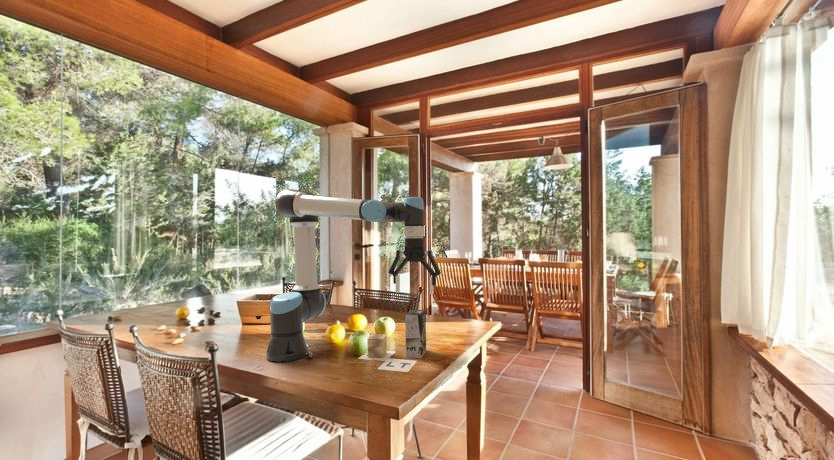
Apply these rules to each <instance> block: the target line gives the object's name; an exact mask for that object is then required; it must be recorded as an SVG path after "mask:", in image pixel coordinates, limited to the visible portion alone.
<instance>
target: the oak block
mask: <svg viewBox="0 0 834 460" xmlns="http://www.w3.org/2000/svg"><path fill="white" fill-rule="evenodd" d="M366 340H367V351H368V357H373V358H384V356H385V355H386V353H387V351H388V349H387V347H388V346H387V334H386V333H384V334H383V333H379V334H378V333H370V335H369V336H368V337H367V339H366Z"/></svg>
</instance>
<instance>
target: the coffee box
mask: <svg viewBox="0 0 834 460" xmlns="http://www.w3.org/2000/svg"><path fill="white" fill-rule="evenodd" d="M426 311H427V310H426V309H410V310H409V311H408V312H407V313H405V323H404V324H405V357H406V358H413V359H414V358H415V359H422V358H423V357H424V355H425V353H426V351H427V324H426V323H427V320H426V319H427V316H426V315H427V313H426Z"/></svg>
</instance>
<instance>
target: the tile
mask: <svg viewBox="0 0 834 460" xmlns="http://www.w3.org/2000/svg"><path fill="white" fill-rule="evenodd" d="M417 362H418V360H412V359H402V358H401V359H399V358H391V357H390V358H389V359H387V360H386V361H383V363H382V364H381V365H379V366H378V367H377V370H384V371H392V372H393V371H395V372H404V373H405V372H406V373H409V372H410V370H411V369H412V368H413V367H414V365H415V364H416V363H417Z"/></svg>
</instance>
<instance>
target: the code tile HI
mask: <svg viewBox="0 0 834 460" xmlns="http://www.w3.org/2000/svg"><path fill="white" fill-rule="evenodd" d="M395 353H397V352H396V351H394V350H387V353H386V355H385V356H384V358H373V357H368V353H367V354H365V353H364V354H365V355H363V354H362V355H360V356H359V357H358V358H357V359H358V360H366V361H367V360H369V361H379V362H385V361H386V360H387V359H389V358H391V357H392V356H393V355H394V354H395Z"/></svg>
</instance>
